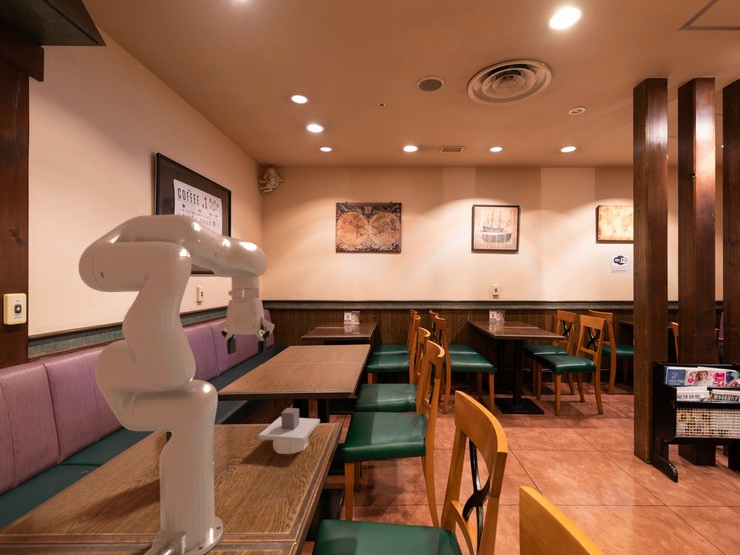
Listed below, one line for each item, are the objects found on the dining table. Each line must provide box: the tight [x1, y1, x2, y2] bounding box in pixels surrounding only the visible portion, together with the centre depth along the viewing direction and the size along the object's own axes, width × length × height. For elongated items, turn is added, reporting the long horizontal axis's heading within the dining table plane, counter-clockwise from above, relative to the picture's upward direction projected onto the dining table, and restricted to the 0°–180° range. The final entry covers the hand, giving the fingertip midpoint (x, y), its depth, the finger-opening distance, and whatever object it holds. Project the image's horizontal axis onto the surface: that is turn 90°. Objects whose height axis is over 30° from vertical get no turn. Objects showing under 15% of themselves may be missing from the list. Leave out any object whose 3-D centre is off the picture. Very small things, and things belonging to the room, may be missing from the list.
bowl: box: [272, 436, 309, 455], centre depth 110 cm, size 10×10×5 cm
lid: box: [258, 407, 321, 442], centre depth 110 cm, size 14×14×6 cm
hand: (246, 353), depth 103 cm, fingers open, 9 cm apart
